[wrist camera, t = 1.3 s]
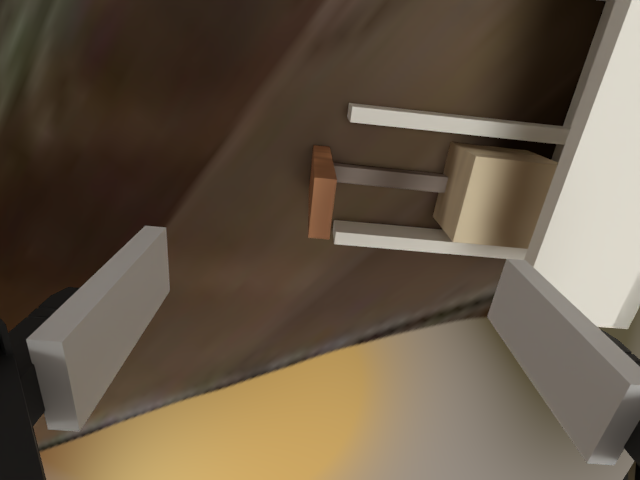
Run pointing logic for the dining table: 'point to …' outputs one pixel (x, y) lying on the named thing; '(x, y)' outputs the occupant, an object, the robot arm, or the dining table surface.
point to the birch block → (451, 192)
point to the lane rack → (559, 180)
